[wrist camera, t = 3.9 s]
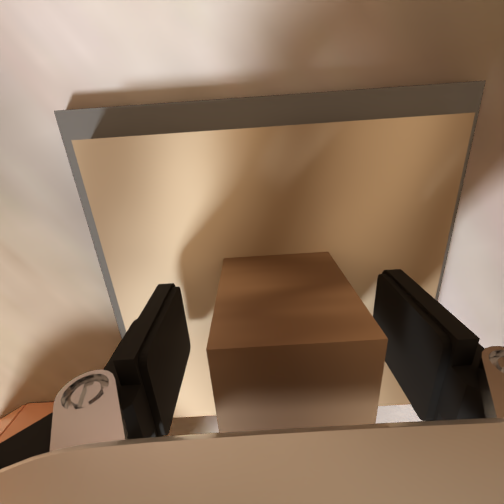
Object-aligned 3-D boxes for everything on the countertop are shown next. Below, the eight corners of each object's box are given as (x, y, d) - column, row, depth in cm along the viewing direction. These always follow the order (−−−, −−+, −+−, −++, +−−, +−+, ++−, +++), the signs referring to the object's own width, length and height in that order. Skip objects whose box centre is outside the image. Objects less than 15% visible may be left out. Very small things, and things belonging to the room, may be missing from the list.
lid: (450, 114, 10) (712, 90, 4) (400, 384, 15) (493, 536, 9) (90, 139, 10) (-107, 146, 5) (158, 398, 15) (105, 556, 10)
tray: (472, 83, 10) (485, 80, 10) (410, 387, 16) (416, 396, 16) (64, 112, 10) (53, 110, 10) (147, 402, 16) (143, 412, 16)
